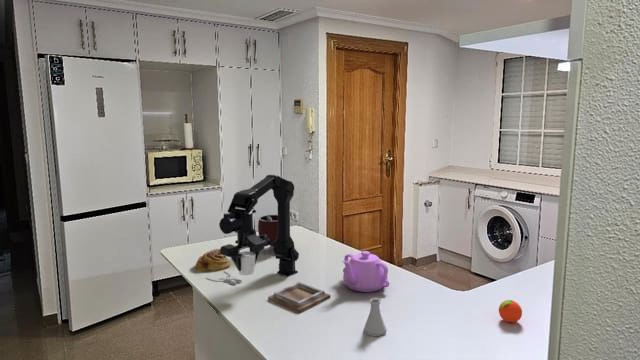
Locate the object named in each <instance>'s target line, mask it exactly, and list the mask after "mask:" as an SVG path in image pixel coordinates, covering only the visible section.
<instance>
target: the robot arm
mask: <svg viewBox="0 0 640 360" xmlns="http://www.w3.org/2000/svg"><path fill="white" fill-rule="evenodd" d="M270 190H271V191H272V192H273V197H274V199H275V200H276V202H277V215H278V238H277V239H276V241H274V242H273V246H274V247H273V251H274V254H275V256H274V257H275V259H276V260H278V270H277V272H276V273H277V274H278V275H279V274H280V275H282V276H284V277H290V276H291V275H294V274H295V275H296V274H297V273H298V272H299V271H298V270H296V262H297V261H298V260H299V257H300V254H299V252H298V251H297V249H296V248H295V242H294V240H293V238H292V236H291V205H290V203H291V200H292V199H293V198H294V192H295V185H294V183H293V182H292V181H291V180H288V179H285V178H283V177H281V176H279V175H276V174H267V175H266V176H265V177H264V178H263V179H261V180H260V181H258V182H257V183H256V184H254V185H253V186H251V187H250V188H247V189H242V190H240V191H237V192H235V193H234V194H233V197H232V200H231V202H230V204H229V206H228V209H227V213H224V214H223V217H222V218H221V219H220V220H219V229H220V231H221V232H222V233H223V234H225V235H229V234H232V233H236V234H237V236H236V238H237V239H236V240H235V243H234V244H235V245H234V244H231V243H228V244H225V245H222V246H221V247H219V249H220V254H222V255H225V256H226V257H227V258H231V260H232V261H233V263H234V265H235V268H236V269H237V270H238V272H239V271H241V256H242V255H243V254H240V252H241V251H243V250H246V249H249V251H251V252H254V253H255V254H256V256H255V265H256V263H257V260H258V258H259V254H260V253H261V250H263V249H264V248H266V247H269V246H270V240H269V238H268V237H267V235H266V234H264V235H259V234H257V230H256V229H254V220H253V218H254V216H253V215H254V214H255V213H257V210H256V209H254V207H255V206H256V205H257V204H258V203H259V202H258V201H259V199H260V198H261V197H263V196H264V195H265V194H267V193H268V192H269V191H270ZM236 244H237V245H236Z"/></svg>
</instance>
